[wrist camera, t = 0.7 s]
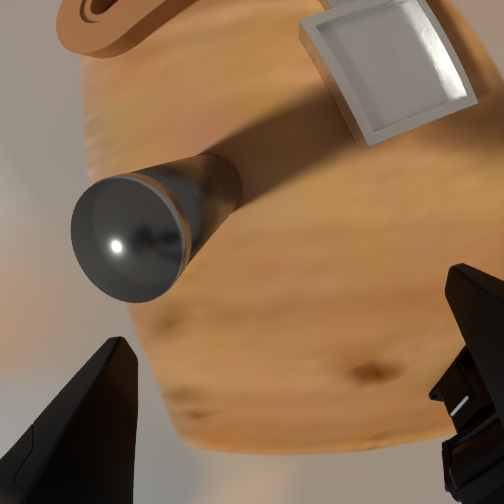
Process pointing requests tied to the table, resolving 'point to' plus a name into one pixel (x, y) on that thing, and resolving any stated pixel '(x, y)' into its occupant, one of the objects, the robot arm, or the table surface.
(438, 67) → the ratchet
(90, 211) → the dark metal cylinder
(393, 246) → the table surface
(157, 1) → the bracket
